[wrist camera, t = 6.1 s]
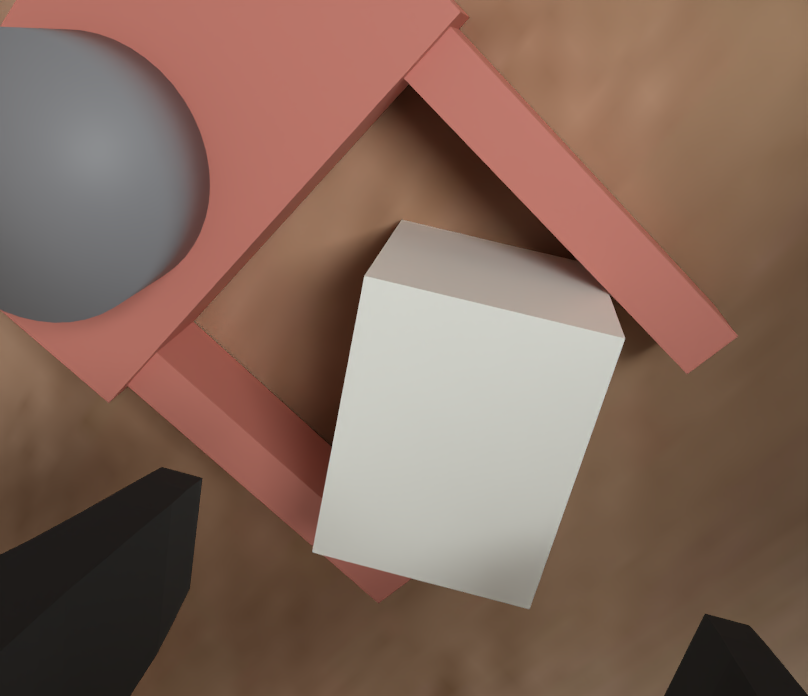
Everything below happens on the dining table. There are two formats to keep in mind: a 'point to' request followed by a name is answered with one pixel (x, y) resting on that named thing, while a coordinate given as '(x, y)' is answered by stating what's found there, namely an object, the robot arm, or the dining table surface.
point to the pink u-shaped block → (253, 196)
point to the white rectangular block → (465, 411)
